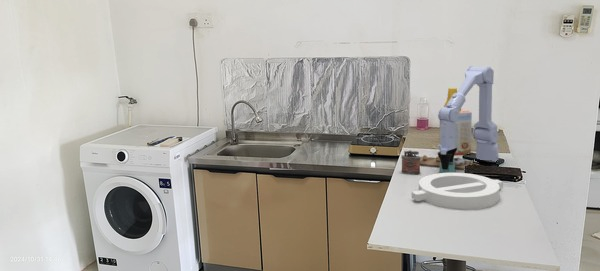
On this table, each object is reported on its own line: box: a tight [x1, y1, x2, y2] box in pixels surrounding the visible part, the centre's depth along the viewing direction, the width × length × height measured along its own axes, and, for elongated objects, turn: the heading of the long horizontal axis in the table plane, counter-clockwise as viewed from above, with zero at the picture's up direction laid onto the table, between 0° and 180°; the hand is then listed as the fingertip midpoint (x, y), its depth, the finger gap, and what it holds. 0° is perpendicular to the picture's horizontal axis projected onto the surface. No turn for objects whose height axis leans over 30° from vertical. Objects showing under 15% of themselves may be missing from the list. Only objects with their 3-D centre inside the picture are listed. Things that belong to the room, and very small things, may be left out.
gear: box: [438, 162, 456, 173], centre depth 197 cm, size 6×6×4 cm
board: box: [420, 154, 472, 171], centre depth 210 cm, size 23×12×4 cm, turn 59°
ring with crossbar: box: [411, 172, 504, 210], centre depth 170 cm, size 28×28×5 cm
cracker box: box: [439, 110, 473, 156], centre depth 224 cm, size 14×6×21 cm, turn 84°
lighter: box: [400, 149, 421, 175], centre depth 199 cm, size 8×3×10 cm, turn 62°
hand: (447, 166), depth 197 cm, fingers open, 7 cm apart
